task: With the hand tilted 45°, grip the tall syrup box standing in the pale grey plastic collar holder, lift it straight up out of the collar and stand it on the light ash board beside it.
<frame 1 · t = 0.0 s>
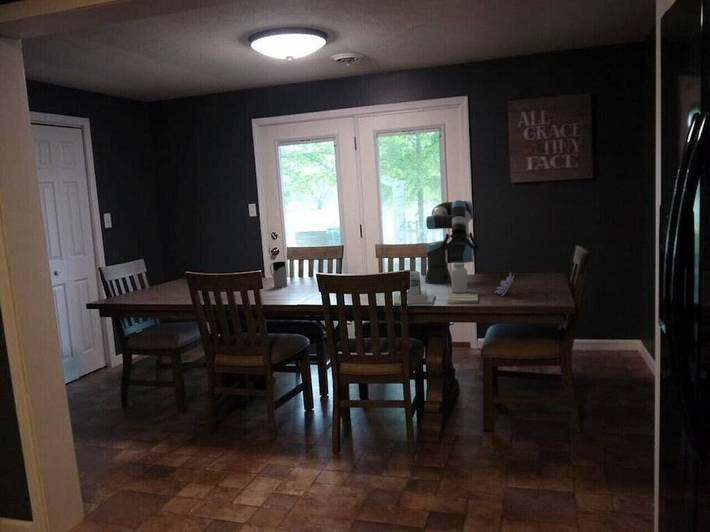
hand: (459, 261, 309), 15 cm above the table, tool tilted 35°, fingers open, 13 cm apart
glass holder: (278, 286, 361), on the table
water lily: (504, 295, 292), on the table
pill bottle: (459, 292, 306), on the table
ash board: (463, 299, 285), on the table
syrup box: (413, 301, 290), resting in collar holder
collar holder: (413, 300, 290), on the table
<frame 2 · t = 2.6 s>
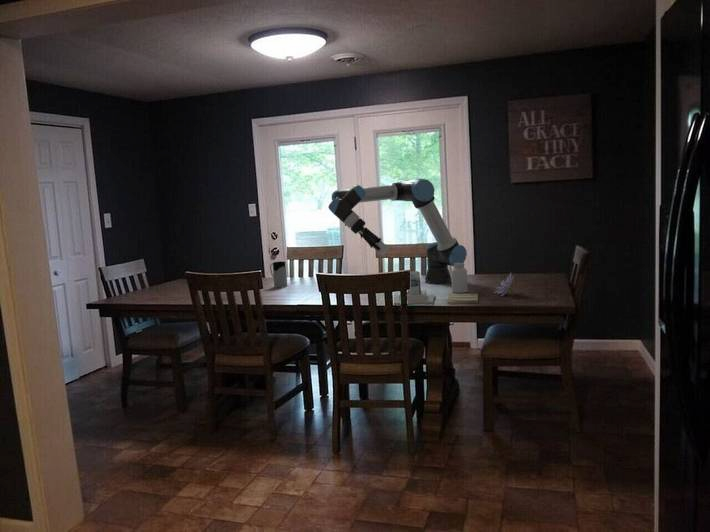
hand: (386, 252, 289), 24 cm above the table, tool tilted 45°, fingers open, 13 cm apart
nothing on the table moved.
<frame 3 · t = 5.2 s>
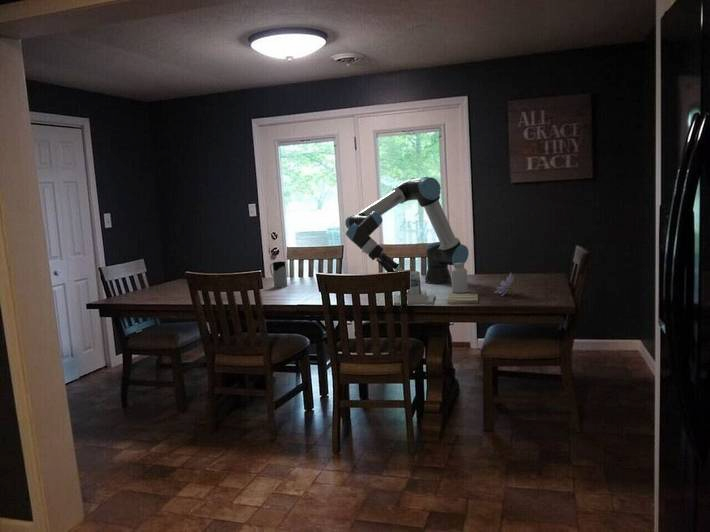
hand: (404, 279, 289), 11 cm above the table, tool tilted 45°, fingers open, 13 cm apart
nothing on the table moved.
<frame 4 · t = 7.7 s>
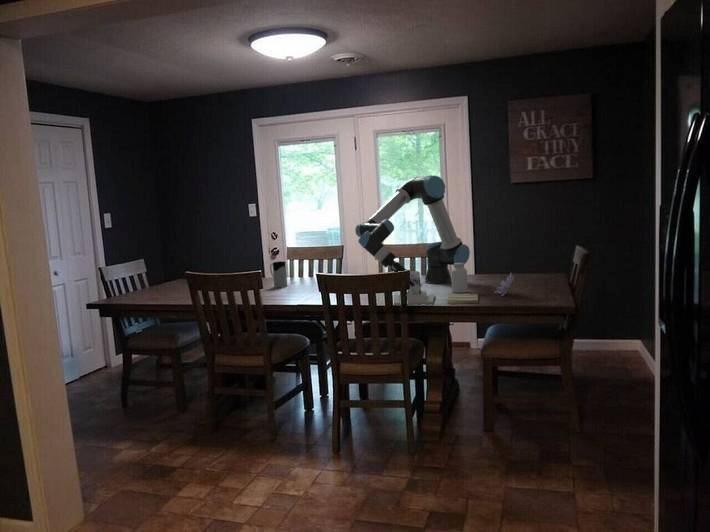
hand: (419, 288, 289), 6 cm above the table, tool tilted 45°, fingers closed on syrup box, 7 cm apart
syrup box: (413, 301, 290), resting in collar holder, touching gripper
everything else where it was.
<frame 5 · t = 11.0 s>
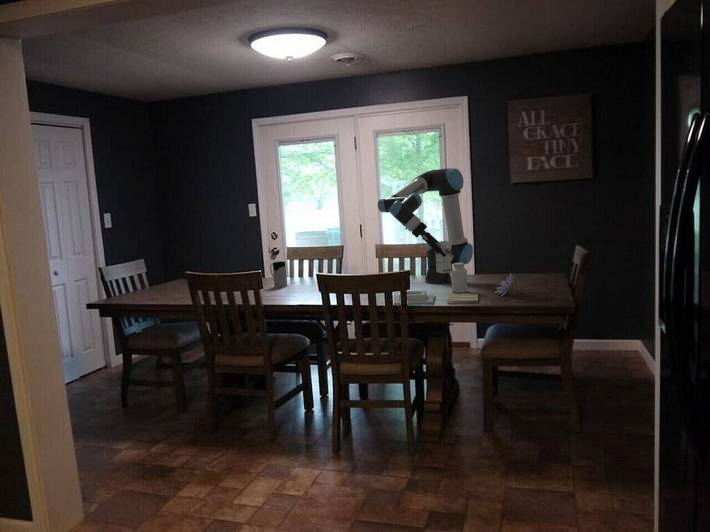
hand: (451, 259, 282), 20 cm above the table, tool tilted 45°, fingers closed on syrup box, 7 cm apart
syrup box: (444, 272, 284), point 14 cm above the table, touching gripper
everything else where it was.
when the fingers open (9 cm above the table, at t = 14.6 s): syrup box drops 2 cm, resting on ash board.
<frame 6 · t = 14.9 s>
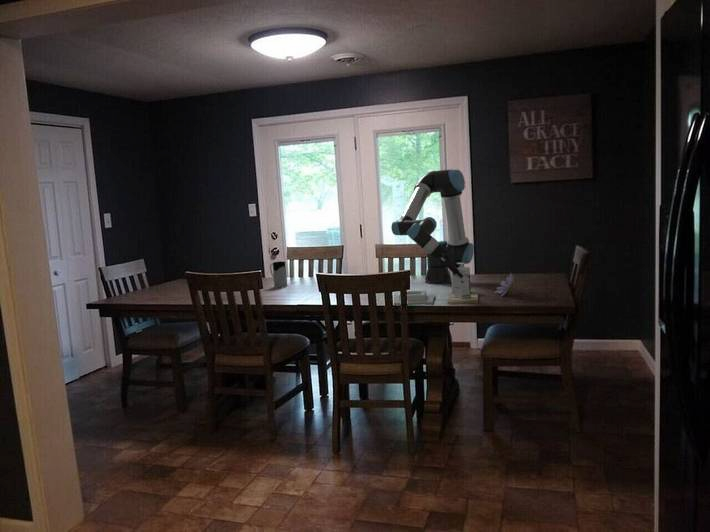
hand: (467, 279, 284), 10 cm above the table, tool tilted 45°, fingers open, 12 cm apart
syrup box: (462, 297, 285), point 1 cm above the table, touching ash board
everything else where it was.
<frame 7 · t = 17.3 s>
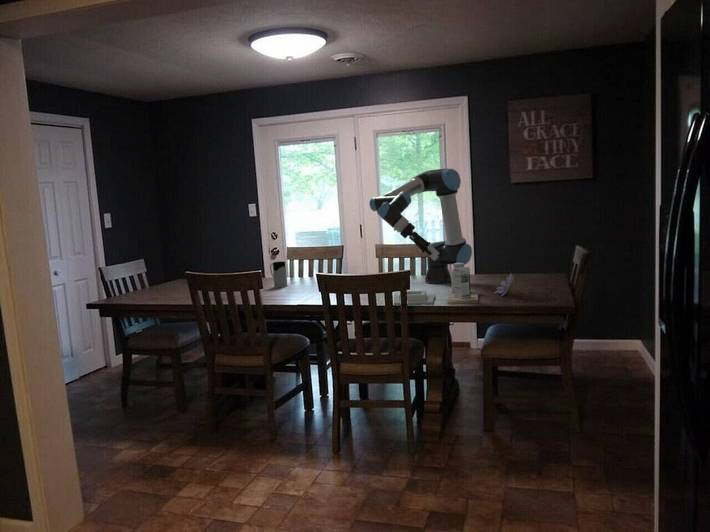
hand: (437, 257, 286), 21 cm above the table, tool tilted 45°, fingers open, 13 cm apart
nothing on the table moved.
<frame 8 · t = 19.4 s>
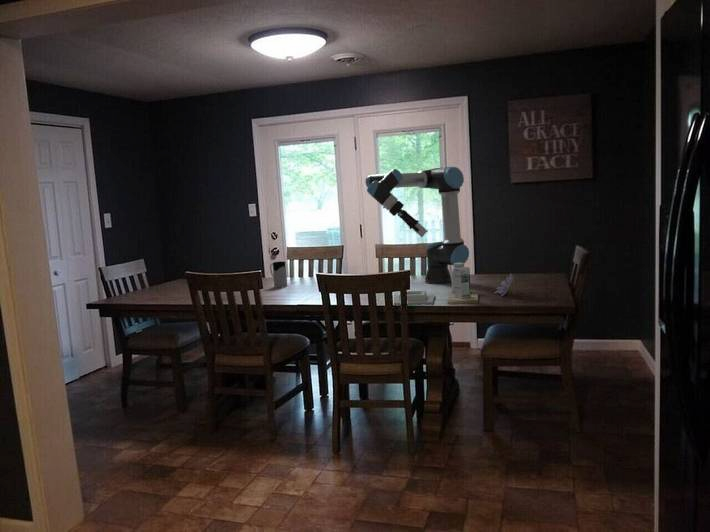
hand: (424, 234, 294), 32 cm above the table, tool tilted 45°, fingers open, 13 cm apart
nothing on the table moved.
at the end: syrup box inside the target area on the ash board (0.3 cm from its centre), point 1.0 cm above the ash board's base; syrup box tilted 0°; the gripper is holding nothing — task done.
